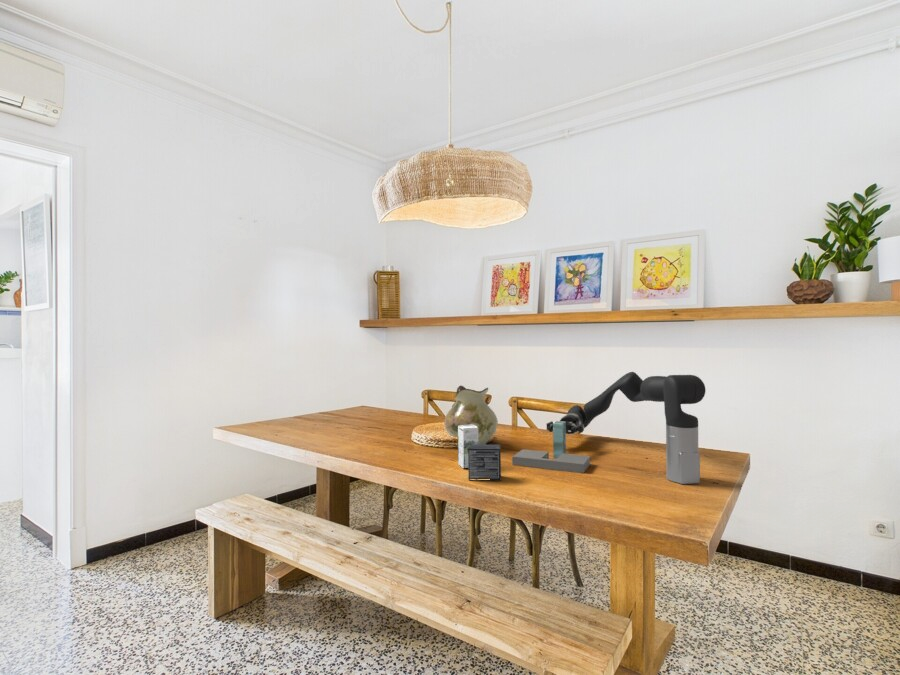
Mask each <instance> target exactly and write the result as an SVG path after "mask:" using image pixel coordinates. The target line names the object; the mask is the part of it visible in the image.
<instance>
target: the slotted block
mask: <svg viewBox="0 0 900 675" xmlns="http://www.w3.org/2000/svg"><path fill="white" fill-rule="evenodd" d="M549 454H550V452H549V451H544V450H542V451H541V450H533V449H525V448H524V449H521V450H520V451H518V452H516V453H515V454H514V455H513V456H512V458H511V459H512V461H511V462H512V466H517V465H520V466H519V467H526V466H528V467H527V468H534V467H536V468H535V469H545V470H553V471H562V472H568V473H569V472H571V473H578V474H579V473H580V474H585V472H586V471H587V470H588V468H589V467H590V465H591V456H590V455H584V454H575V453H572V454H571V453H566V454H564V453H562V454H561V455H560V456H559V457H558V458H553V459H552V458H550V456H549Z"/></svg>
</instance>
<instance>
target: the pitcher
mask: <svg viewBox="0 0 900 675" xmlns="http://www.w3.org/2000/svg"><path fill="white" fill-rule="evenodd" d="M488 391H489V387H486V388H484V389H482V390H480V391H479V390H478V391H477V390H475V389H471V388H466V387H464V385H459V386H458V387H457V388H456V393H455V397H454V398H455V401H454V403H453V404H452V406H451V408H450V409H449V411H448V412H447V413H446V416H445V418H444V429H445V431H446V433H447V434H448V436H449V435H450V436H453V437H457V438H458V426H459V425H475V426H477V427H478V445H487V443H488V441H489V440H491V439H492V437H493V436H494V435H495V433H496V431H497V429H498V418H497V415H496V413H495V411H493V409H492V408H491V407H490V406H489V405H488V404H487V402H486V401H485V397H486V394H487V392H488ZM450 436H449V437H450Z"/></svg>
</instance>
